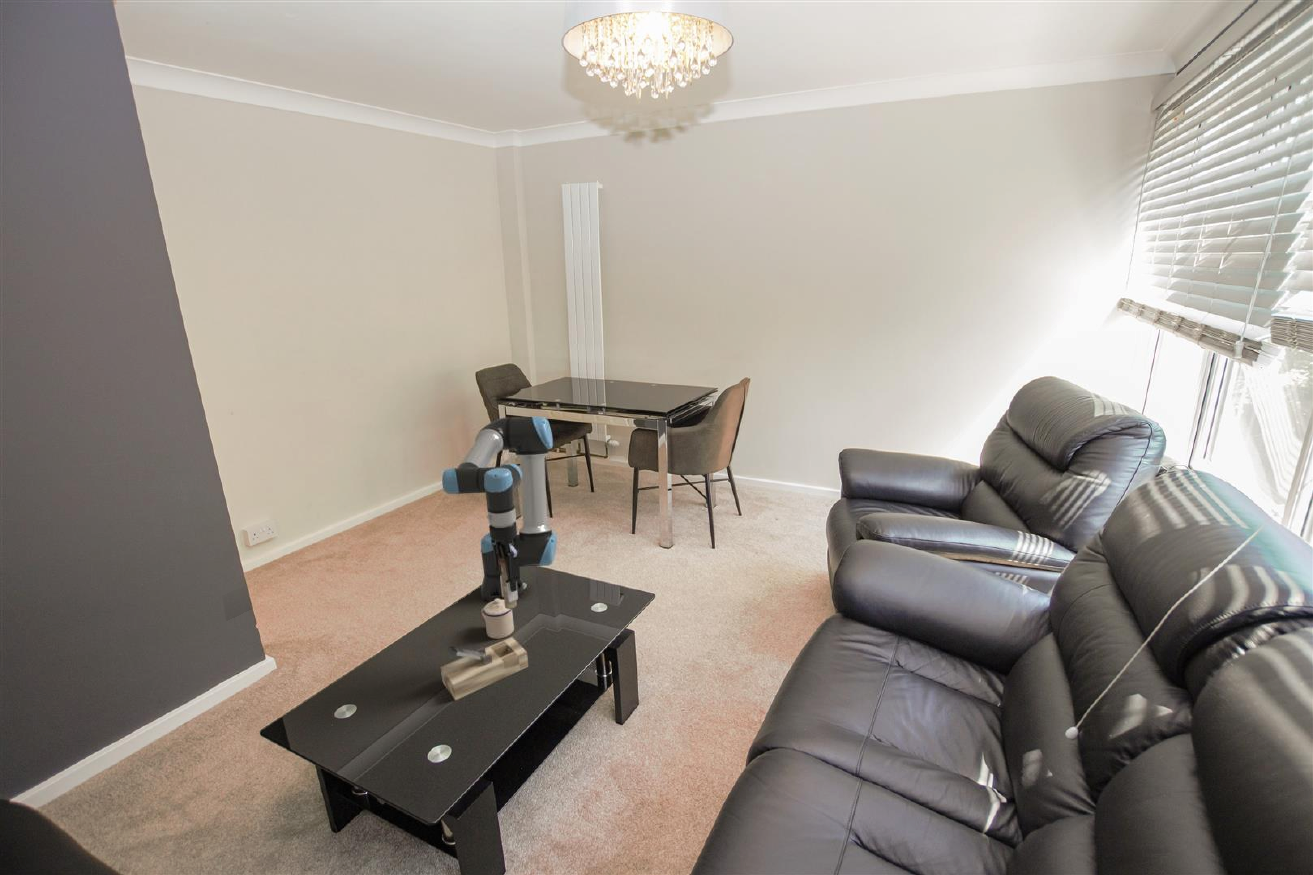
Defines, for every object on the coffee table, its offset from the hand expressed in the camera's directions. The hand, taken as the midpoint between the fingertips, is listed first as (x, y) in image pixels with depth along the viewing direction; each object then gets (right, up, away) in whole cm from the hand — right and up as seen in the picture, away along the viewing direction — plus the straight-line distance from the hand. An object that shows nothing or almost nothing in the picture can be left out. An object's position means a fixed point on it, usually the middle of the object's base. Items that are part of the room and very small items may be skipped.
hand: (510, 597), depth 171 cm
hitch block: (-7, -22, -1) cm, 23 cm away
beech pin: (0, -3, +1) cm, 3 cm away
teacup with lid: (-9, -17, +21) cm, 28 cm away
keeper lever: (-11, -15, -6) cm, 19 cm away
